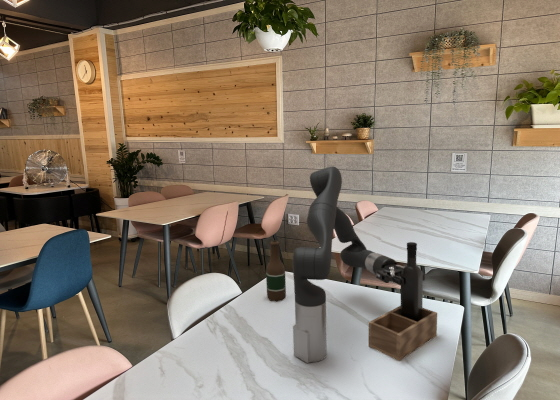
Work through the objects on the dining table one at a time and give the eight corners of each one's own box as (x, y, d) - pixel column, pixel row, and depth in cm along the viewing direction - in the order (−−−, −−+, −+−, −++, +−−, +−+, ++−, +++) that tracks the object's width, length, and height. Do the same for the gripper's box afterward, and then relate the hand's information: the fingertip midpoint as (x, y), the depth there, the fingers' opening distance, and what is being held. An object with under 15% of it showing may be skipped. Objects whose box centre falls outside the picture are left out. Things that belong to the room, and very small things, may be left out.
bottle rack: (399, 361, 112) (399, 335, 110) (368, 346, 120) (368, 322, 119) (436, 335, 125) (437, 312, 123) (406, 323, 133) (406, 302, 132)
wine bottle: (406, 326, 129) (406, 239, 124) (423, 330, 126) (424, 242, 121) (399, 333, 125) (399, 244, 120) (416, 338, 121) (417, 246, 117)
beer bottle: (289, 297, 158) (288, 240, 154) (276, 303, 152) (274, 245, 148) (276, 292, 163) (274, 237, 159) (263, 298, 158) (260, 242, 154)
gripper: (364, 258, 133) (396, 272, 119) (396, 252, 139) (431, 265, 124) (364, 279, 134) (396, 295, 120) (396, 272, 140) (430, 287, 126)
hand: (413, 280), depth 122 cm, fingers open, 8 cm apart
